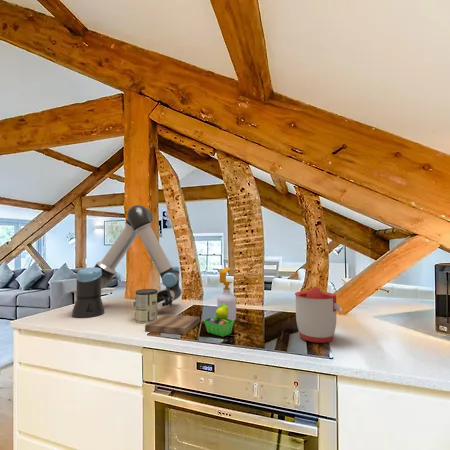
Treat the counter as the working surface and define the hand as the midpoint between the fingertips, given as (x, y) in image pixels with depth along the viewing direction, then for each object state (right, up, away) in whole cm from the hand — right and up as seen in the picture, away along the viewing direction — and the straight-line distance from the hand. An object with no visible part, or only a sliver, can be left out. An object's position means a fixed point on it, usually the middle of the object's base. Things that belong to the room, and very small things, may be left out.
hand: (145, 305), depth 134 cm
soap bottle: (+39, -8, +3) cm, 40 cm away
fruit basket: (+36, -7, -17) cm, 40 cm away
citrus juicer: (+74, -6, -24) cm, 78 cm away
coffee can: (0, -8, +1) cm, 8 cm away
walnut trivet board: (+15, -7, -9) cm, 19 cm away
